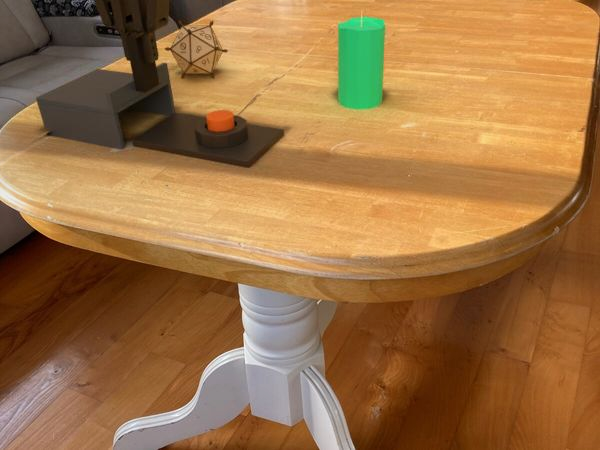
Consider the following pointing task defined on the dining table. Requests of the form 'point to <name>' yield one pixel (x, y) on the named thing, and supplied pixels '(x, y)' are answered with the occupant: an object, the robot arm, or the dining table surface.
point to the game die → (196, 49)
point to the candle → (361, 62)
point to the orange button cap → (220, 120)
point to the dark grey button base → (209, 139)
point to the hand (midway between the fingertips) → (147, 87)
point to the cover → (101, 105)
